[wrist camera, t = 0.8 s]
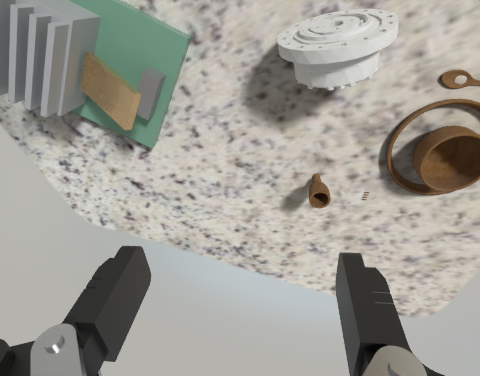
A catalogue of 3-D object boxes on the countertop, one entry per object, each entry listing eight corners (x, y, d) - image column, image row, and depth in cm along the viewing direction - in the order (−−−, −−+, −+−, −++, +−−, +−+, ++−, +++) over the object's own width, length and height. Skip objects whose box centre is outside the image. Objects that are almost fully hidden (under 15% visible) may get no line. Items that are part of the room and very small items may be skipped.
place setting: (447, 214, 42) (469, 244, 37) (301, 184, 42) (303, 210, 37) (534, 82, 32) (579, 99, 27) (344, 46, 33) (355, 56, 28)
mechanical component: (381, -3, 29) (417, 27, 22) (378, 45, 32) (409, 86, 25) (276, 21, 31) (276, 55, 24) (282, 64, 34) (284, 107, 27)
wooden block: (86, 87, 34) (79, 88, 33) (92, 52, 32) (85, 51, 31) (131, 129, 31) (125, 130, 31) (141, 94, 29) (134, 94, 29)
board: (-30, 57, 38) (-104, 73, 30) (-36, -81, 30) (-136, -104, 23) (155, 143, 41) (128, 175, 34) (191, 37, 33) (166, 49, 26)
